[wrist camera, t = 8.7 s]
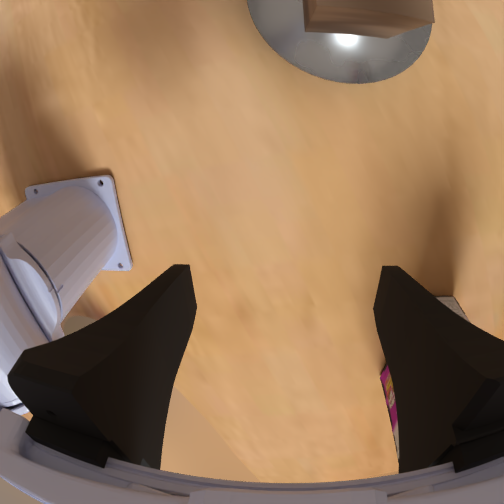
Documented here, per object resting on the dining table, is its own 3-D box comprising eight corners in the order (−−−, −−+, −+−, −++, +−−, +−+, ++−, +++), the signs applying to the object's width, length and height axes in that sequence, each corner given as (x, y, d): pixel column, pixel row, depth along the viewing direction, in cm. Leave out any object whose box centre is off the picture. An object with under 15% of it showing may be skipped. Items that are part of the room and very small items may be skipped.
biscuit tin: (256, 83, 17) (252, 83, 15) (246, -55, 12) (241, -74, 10) (415, 91, 16) (435, 93, 14) (403, -44, 11) (420, -58, 9)
